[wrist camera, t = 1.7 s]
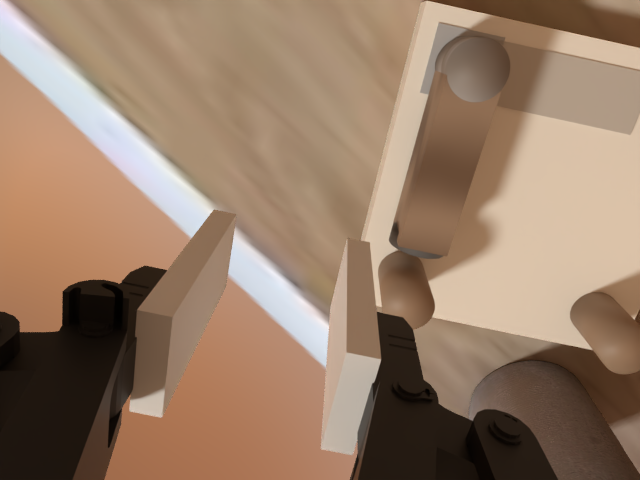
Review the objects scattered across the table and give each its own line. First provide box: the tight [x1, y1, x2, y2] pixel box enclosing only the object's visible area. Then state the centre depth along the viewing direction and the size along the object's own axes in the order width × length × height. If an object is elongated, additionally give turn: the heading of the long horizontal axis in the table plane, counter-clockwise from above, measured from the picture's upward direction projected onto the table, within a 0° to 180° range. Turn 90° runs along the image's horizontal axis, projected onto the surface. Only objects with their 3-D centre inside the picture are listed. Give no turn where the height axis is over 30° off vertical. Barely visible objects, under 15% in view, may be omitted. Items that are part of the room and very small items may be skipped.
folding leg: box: [389, 37, 510, 259], centre depth 30 cm, size 13×4×4 cm, turn 168°
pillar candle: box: [469, 361, 640, 480], centre depth 36 cm, size 10×10×15 cm
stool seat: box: [361, 1, 640, 374], centre depth 32 cm, size 20×20×8 cm
